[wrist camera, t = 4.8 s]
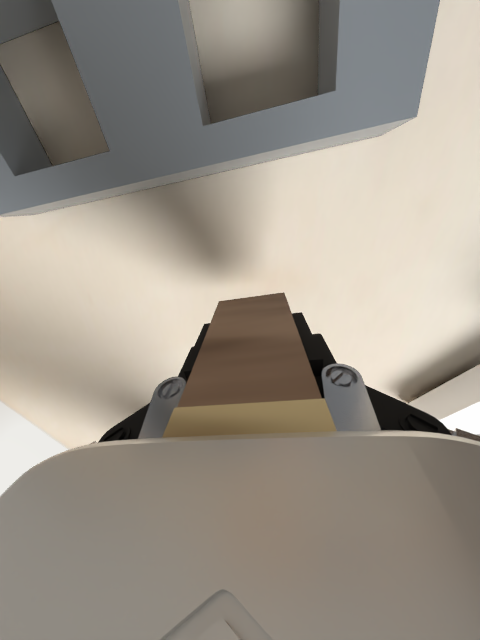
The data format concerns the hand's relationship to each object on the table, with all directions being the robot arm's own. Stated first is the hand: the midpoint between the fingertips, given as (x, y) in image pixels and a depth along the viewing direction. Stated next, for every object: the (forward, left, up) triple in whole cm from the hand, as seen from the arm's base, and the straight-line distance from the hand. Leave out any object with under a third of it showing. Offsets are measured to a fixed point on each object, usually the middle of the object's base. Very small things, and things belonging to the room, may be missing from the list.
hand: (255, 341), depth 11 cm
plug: (0, 0, -2) cm, 2 cm away
